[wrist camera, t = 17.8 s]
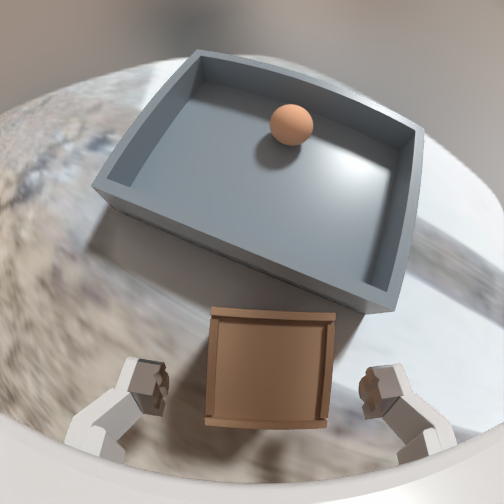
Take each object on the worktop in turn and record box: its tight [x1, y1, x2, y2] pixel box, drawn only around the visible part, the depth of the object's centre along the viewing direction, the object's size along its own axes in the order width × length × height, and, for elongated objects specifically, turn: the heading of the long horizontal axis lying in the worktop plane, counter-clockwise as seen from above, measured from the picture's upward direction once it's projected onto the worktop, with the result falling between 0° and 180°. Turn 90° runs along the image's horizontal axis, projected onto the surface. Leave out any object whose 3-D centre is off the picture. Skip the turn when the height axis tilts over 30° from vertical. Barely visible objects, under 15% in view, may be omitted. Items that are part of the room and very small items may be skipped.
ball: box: [270, 104, 313, 146], centre depth 18 cm, size 3×3×3 cm
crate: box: [205, 307, 336, 430], centre depth 13 cm, size 5×5×8 cm
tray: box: [91, 50, 424, 314], centre depth 18 cm, size 19×14×4 cm
